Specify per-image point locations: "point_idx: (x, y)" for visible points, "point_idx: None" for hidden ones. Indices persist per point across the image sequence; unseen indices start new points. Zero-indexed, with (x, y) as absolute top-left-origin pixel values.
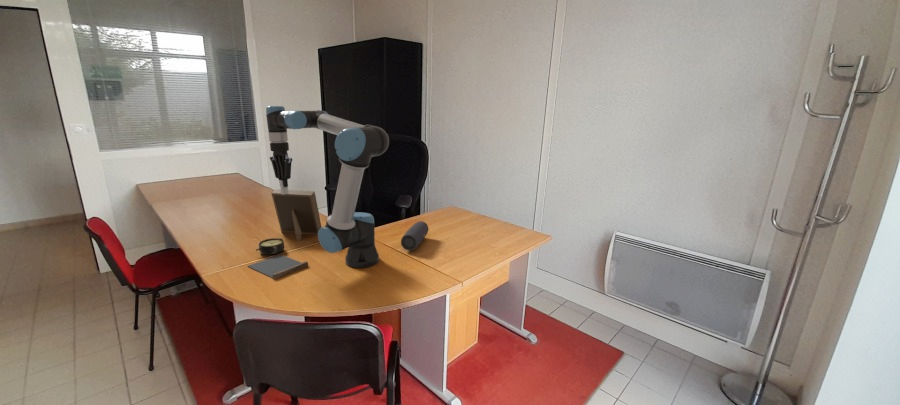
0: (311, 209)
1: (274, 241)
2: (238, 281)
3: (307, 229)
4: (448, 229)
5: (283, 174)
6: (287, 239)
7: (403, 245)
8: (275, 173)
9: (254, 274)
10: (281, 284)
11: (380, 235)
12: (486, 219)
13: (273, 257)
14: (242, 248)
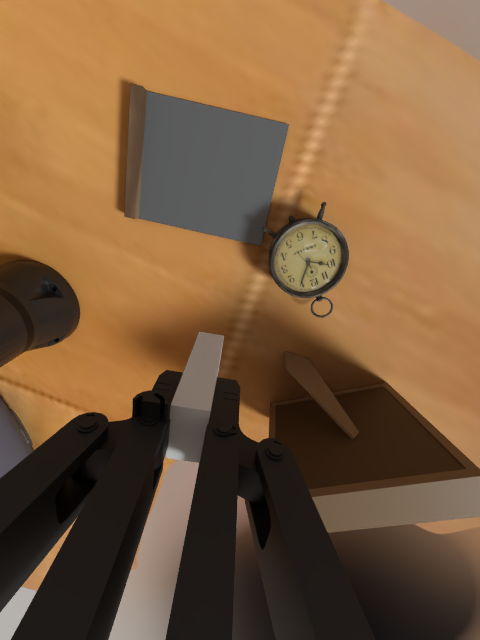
0: None
1: (312, 278)
2: (224, 12)
3: (303, 405)
4: None
5: (103, 476)
6: (329, 346)
7: None
8: (291, 497)
9: (221, 87)
10: (92, 69)
11: None
12: None
13: (262, 216)
14: (414, 236)
